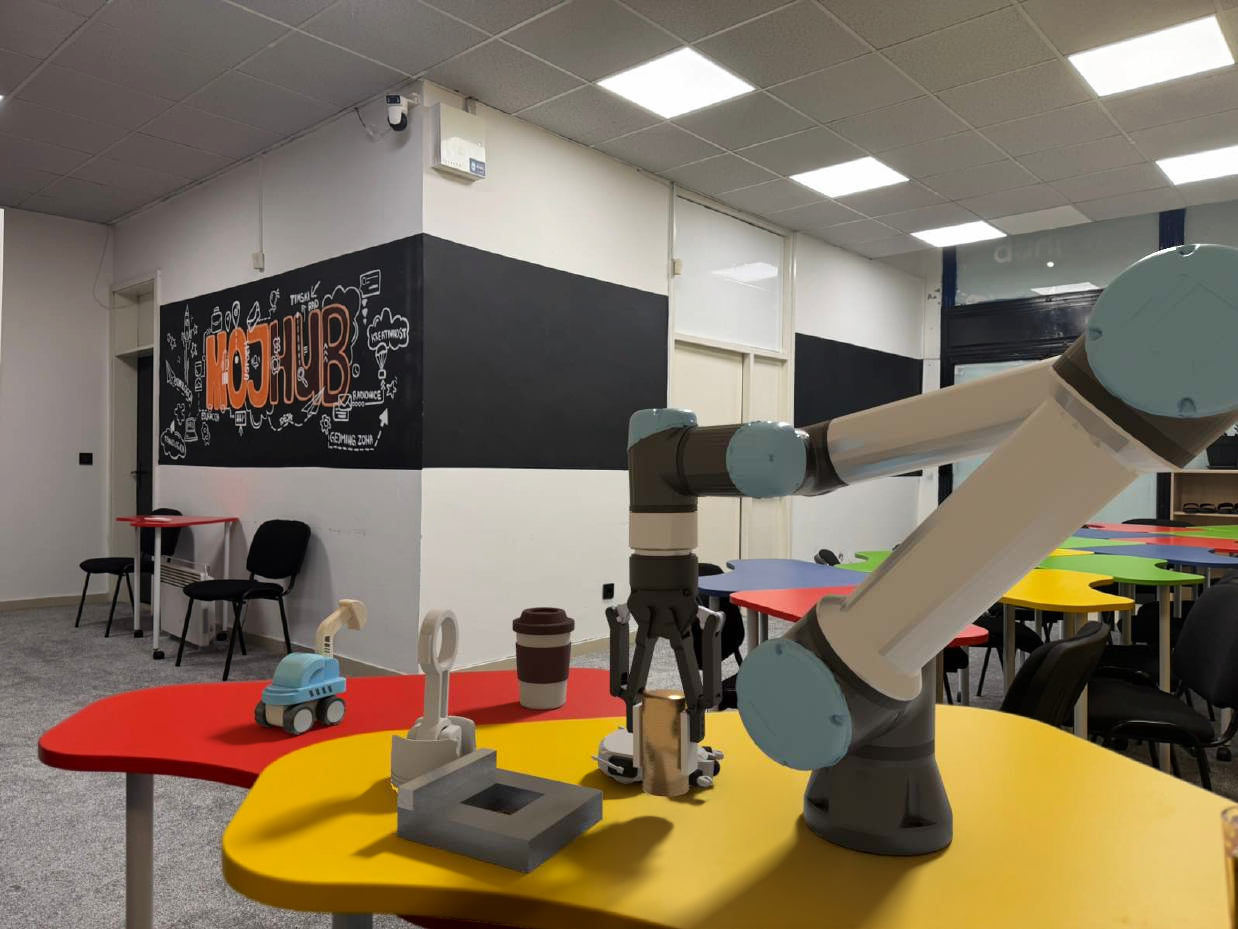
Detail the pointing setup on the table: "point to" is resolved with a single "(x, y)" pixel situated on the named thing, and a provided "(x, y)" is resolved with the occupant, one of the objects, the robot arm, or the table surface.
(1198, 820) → the table surface
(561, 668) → the coffee cup
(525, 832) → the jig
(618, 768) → the robot toy
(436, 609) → the engine component
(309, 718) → the toy excavator
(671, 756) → the copper cylinder rod
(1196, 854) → the table surface
